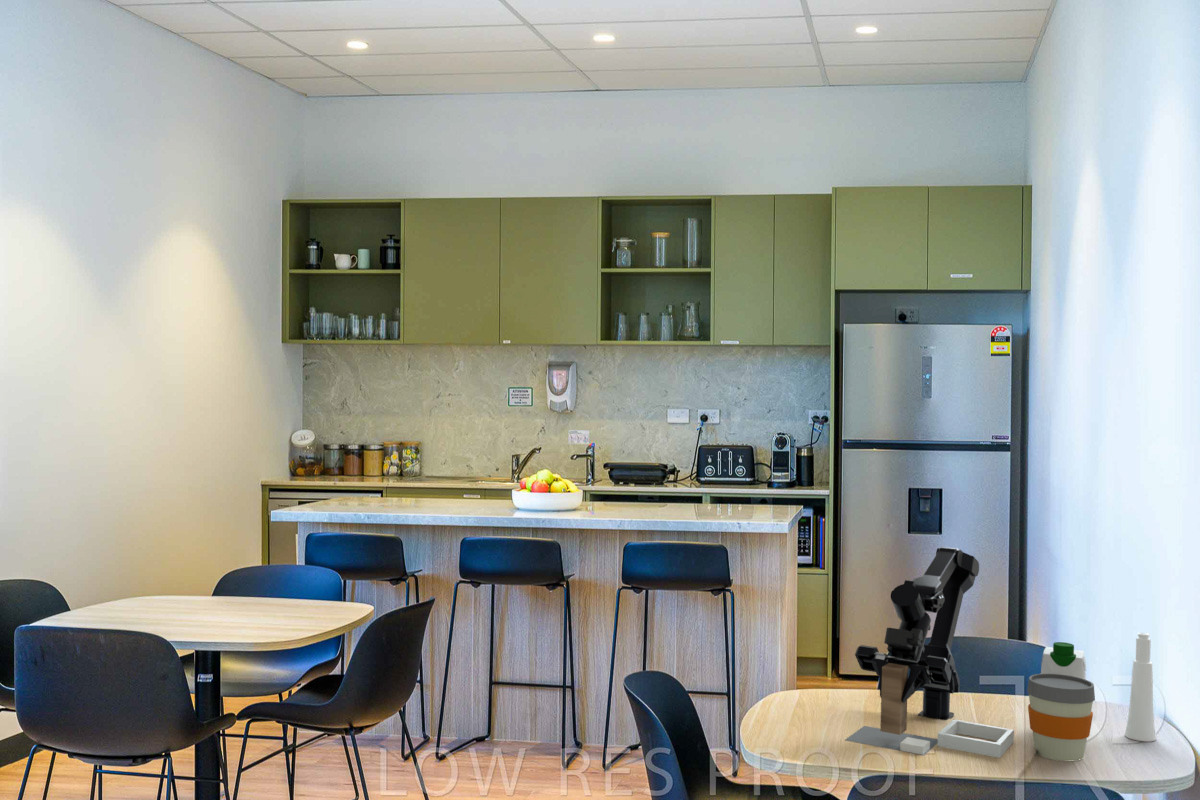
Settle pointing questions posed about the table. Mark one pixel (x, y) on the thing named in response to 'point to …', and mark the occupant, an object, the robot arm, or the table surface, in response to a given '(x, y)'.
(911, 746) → the tile on board
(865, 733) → the slate board
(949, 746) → the box
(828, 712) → the table surface
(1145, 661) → the cosmetic bottle
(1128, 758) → the table surface
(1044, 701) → the reusable coffee cup
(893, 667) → the walnut handle
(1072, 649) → the milk carton
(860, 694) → the table surface
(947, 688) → the robot arm
